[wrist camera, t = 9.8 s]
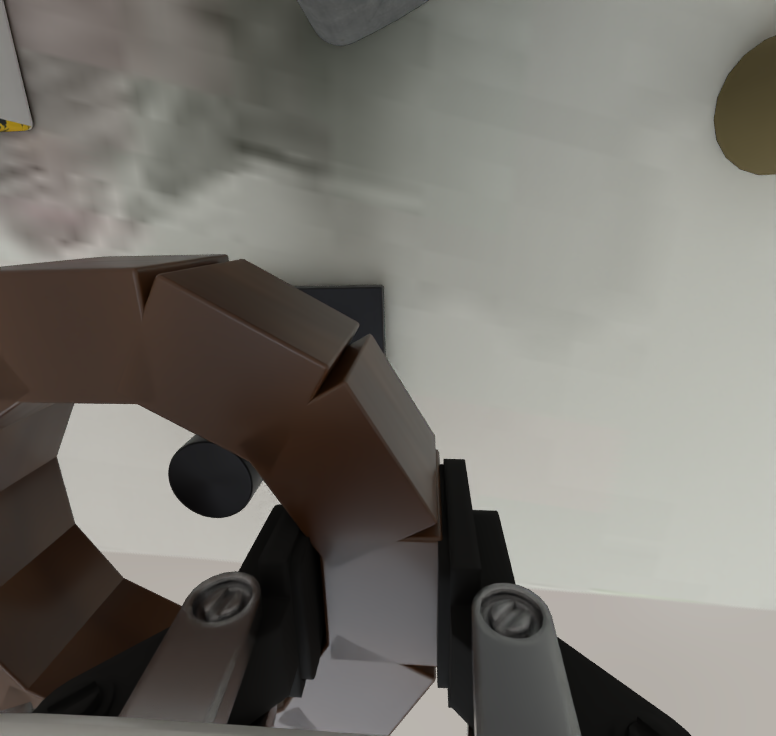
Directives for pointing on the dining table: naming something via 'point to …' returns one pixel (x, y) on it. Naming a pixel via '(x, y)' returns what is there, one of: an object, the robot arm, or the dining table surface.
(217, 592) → the robot arm
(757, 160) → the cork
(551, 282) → the dining table surface
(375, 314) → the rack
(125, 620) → the hoop
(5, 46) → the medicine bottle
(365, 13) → the hip flask
